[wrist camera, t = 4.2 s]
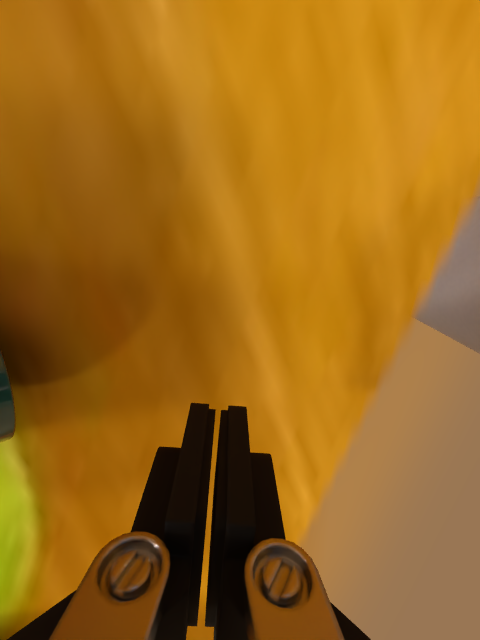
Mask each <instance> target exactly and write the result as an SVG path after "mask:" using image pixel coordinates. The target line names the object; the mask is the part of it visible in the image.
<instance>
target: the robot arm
mask: <svg viewBox="0 0 480 640" xmlns="http://www.w3.org/2000/svg"><path fill="white" fill-rule="evenodd" d="M214 422H215V409H209V404H200V403H191V406H190V410H189V415H188V419H187V424H186V428H185V433H184V437H183V442H182V446H181V448H173V447H159V448H158V450H157V452H156V455H155V459H154V462H153V465H152V468H151V471H150V474H149V477H148V480H147V483H146V486H145V489H144V493H143V496H142V499H141V502H140V505H139V508H138V511H137V514H136V517H135V520H134V523H133V527H132V530H131V532H130V533H126V534H123V535H121V536H119V537H117V538H115V539H113V540H111V541H110V542H109V543H108V544H107V545H106V546H104V547H103V548H102V549H101V550H100V552H99V553H98V554H97V556H96V557H95V559H94V560H93V562H92V564H91V565H90V567H89V569H88V571H87V572H86V574H85V576H84V578H83V580H82V581H81V583H80V585H79V587H78V588H77V590H76V591H74V592H73V593H71V594H70V595H69V596H67V597H66V598H64V599H63V600H62V601H60V602H59V603H57V604H56V605H55V606H53V607H52V608H50V609H49V610H48V611H46V612H45V613H43V614H42V615H41V616H39V617H38V618H36V619H35V620H34V621H32V622H31V623H29V624H28V625H27V626H25V627H24V628H22V629H21V630H20V631H18V632H17V633H15V634H14V635H13V636H11V637H10V638H8V639H7V640H186V634H187V626H197V620H198V609H199V597H200V586H201V575H202V563H203V552H204V541H205V529H206V518H207V506H208V494H209V482H210V470H211V458H212V446H213V434H214ZM205 626H207V627H214V640H370V638H369V637H368V636H366V635H365V634H364V633H363V632H362V631H361V630H360V629H359V628H358V627H357V626H356V625H355V624H353V623H352V622H351V621H350V620H349V619H348V618H347V617H346V616H345V615H344V614H343V613H341V611H339V610H338V609H337V608H336V607H335V606H334V605H333V604H332V603H331V602H330V601H329V598H328V596H327V593H326V590H325V588H324V585H323V583H322V580H321V578H320V575H319V572H318V570H317V568H316V566H315V564H314V562H313V561H312V559H311V558H310V556H309V555H308V554H307V553H306V552H305V551H304V550H303V549H302V548H300V547H299V546H298V545H296V544H295V543H293V542H290V541H287V540H286V539H285V533H284V528H283V522H282V516H281V510H280V504H279V498H278V492H277V486H276V481H275V475H274V469H273V463H272V458H271V455H270V454H265V453H250V445H249V433H248V421H247V409H246V407H241V406H228V410H221V417H220V428H219V439H218V449H217V460H216V471H215V482H214V494H213V509H212V525H211V540H210V555H209V571H208V586H207V601H206V617H205Z"/></svg>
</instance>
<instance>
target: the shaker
mask: <svg viewBox="0 0 480 640" xmlns="http://www.w3.org/2000/svg"><path fill="white" fill-rule="evenodd" d="M14 432H15V406H14V399H13V393H12V388H11V384H10V379H9V375H8V371H7V368H6V364H5V361H4V358H3V355H2V352H1V350H0V443H1V442H4V441H6V440H9V439H11V438H12V437H13V435H14Z"/></svg>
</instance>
